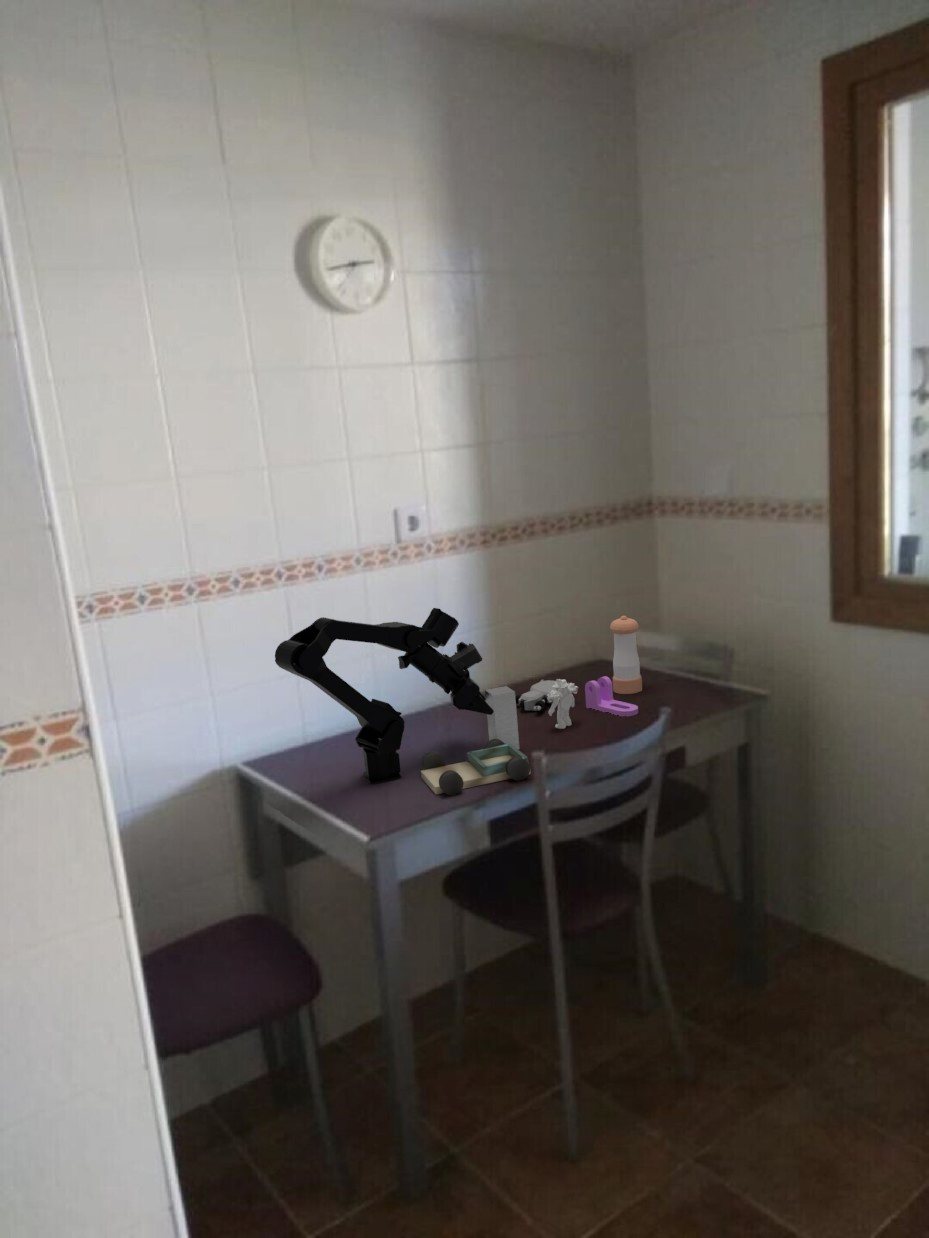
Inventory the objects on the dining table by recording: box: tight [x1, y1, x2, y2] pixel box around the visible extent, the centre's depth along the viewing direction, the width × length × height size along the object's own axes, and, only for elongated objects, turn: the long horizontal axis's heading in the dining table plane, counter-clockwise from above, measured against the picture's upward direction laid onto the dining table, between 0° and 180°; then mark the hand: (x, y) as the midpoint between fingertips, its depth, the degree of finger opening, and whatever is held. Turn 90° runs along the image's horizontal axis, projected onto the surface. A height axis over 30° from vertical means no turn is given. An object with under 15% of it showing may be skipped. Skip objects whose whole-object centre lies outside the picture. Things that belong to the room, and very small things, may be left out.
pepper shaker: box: [609, 615, 643, 695], centre depth 238 cm, size 7×7×19 cm
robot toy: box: [515, 679, 579, 712], centre depth 234 cm, size 12×4×15 cm
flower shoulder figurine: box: [547, 678, 579, 730], centre depth 217 cm, size 9×4×12 cm, turn 134°
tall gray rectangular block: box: [484, 685, 520, 750], centre depth 206 cm, size 5×5×13 cm
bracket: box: [584, 675, 639, 717], centre depth 225 cm, size 13×6×7 cm, turn 39°
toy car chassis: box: [420, 739, 531, 796], centre depth 192 cm, size 20×14×4 cm
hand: (488, 706), depth 205 cm, fingers open, 9 cm apart
